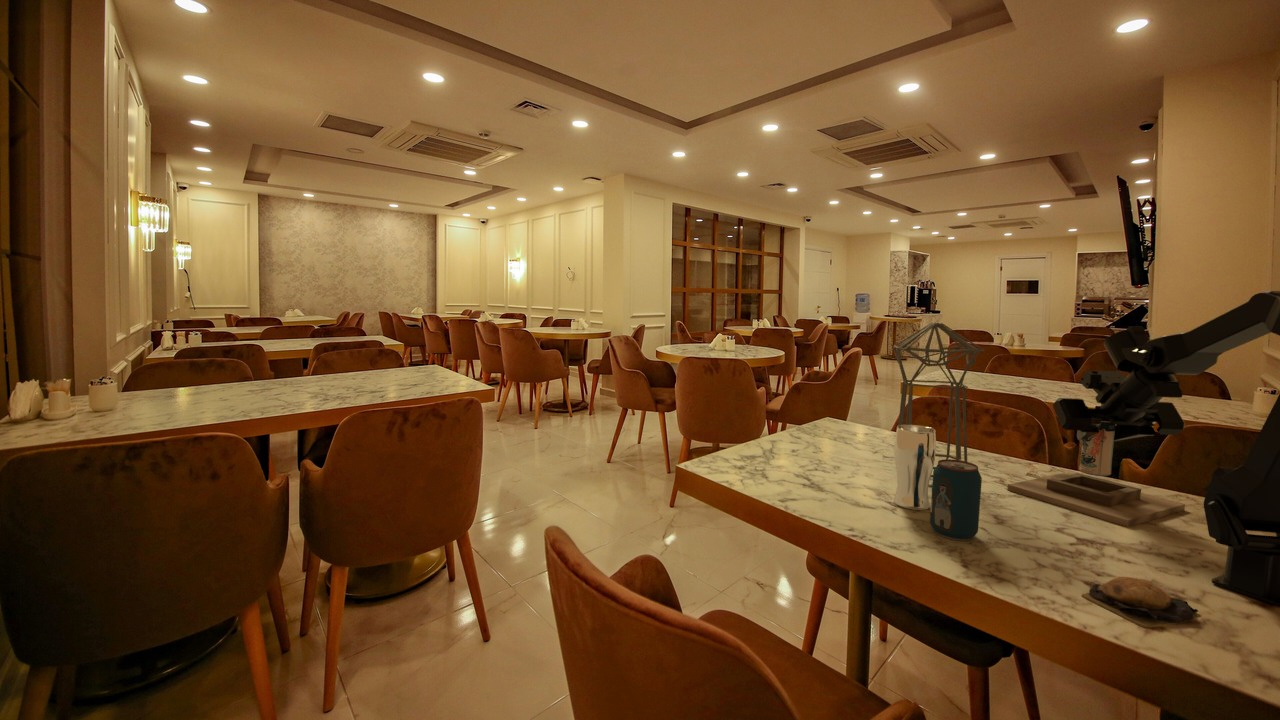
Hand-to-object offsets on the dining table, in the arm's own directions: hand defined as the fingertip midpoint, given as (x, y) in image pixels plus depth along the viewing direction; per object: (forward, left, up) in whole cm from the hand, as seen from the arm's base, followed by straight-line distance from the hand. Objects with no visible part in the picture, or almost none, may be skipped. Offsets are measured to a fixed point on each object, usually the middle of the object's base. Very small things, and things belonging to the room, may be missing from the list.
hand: (1093, 439), depth 103 cm
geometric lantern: (-21, +20, -12) cm, 31 cm away
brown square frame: (-1, -1, -12) cm, 12 cm away
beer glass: (-37, +11, -12) cm, 40 cm away
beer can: (-1, -1, -7) cm, 7 cm away
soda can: (-42, -1, -12) cm, 44 cm away
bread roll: (-40, -25, -13) cm, 49 cm away
